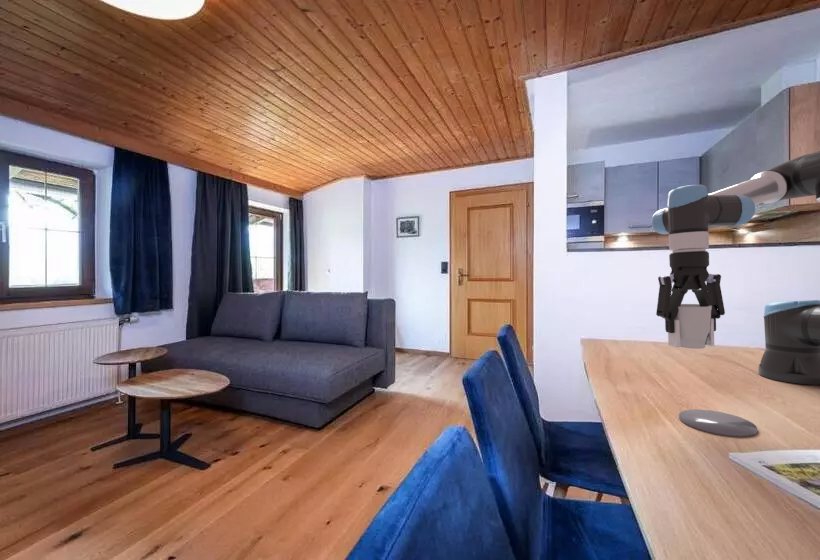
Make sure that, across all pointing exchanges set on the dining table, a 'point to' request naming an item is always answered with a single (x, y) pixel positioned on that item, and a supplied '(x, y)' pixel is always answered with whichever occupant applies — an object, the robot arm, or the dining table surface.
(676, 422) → the dining table surface
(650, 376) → the dining table surface
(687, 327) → the cup
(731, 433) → the coaster
